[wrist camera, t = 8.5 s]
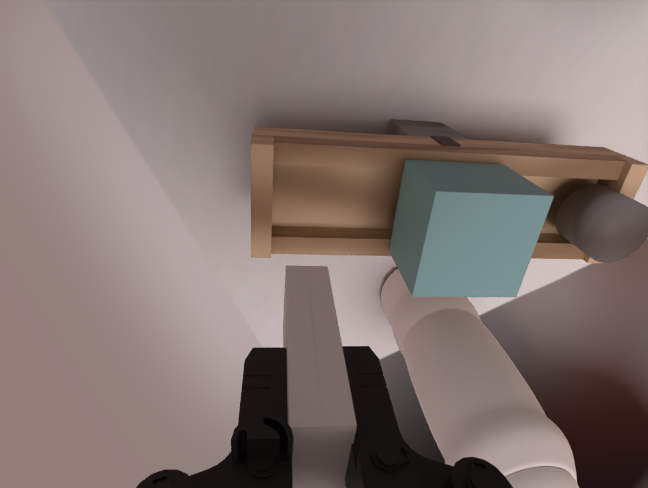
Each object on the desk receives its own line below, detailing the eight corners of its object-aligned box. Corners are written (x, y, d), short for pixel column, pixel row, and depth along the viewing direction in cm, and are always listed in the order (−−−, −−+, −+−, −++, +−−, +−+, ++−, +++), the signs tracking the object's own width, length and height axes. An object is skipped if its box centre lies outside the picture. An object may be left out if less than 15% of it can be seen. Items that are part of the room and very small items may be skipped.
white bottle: (463, 264, 38) (718, 591, 16) (434, 322, 41) (615, 663, 19) (394, 250, 36) (573, 591, 15) (369, 312, 40) (486, 669, 18)
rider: (398, 151, 25) (436, 191, 19) (491, 156, 25) (554, 196, 20) (383, 239, 27) (412, 296, 22) (467, 241, 28) (516, 297, 23)
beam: (256, 109, 29) (248, 155, 19) (560, 129, 33) (686, 177, 23) (256, 201, 33) (248, 281, 23) (530, 211, 36) (630, 284, 26)
